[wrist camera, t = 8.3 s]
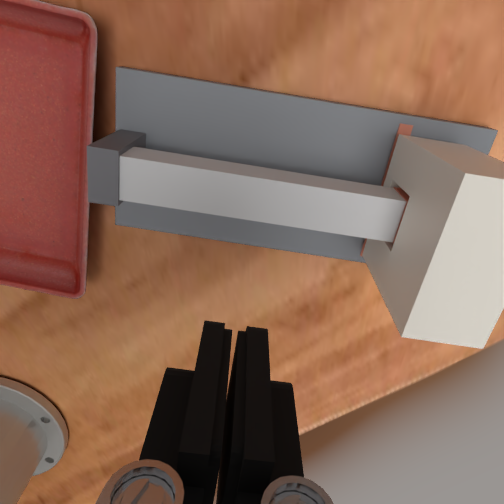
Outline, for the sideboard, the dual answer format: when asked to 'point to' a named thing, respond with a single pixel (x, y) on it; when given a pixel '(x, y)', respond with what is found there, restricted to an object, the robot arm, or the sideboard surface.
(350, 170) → the gray slide rail base
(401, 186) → the white sliding block
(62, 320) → the sideboard surface
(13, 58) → the plant saucer
